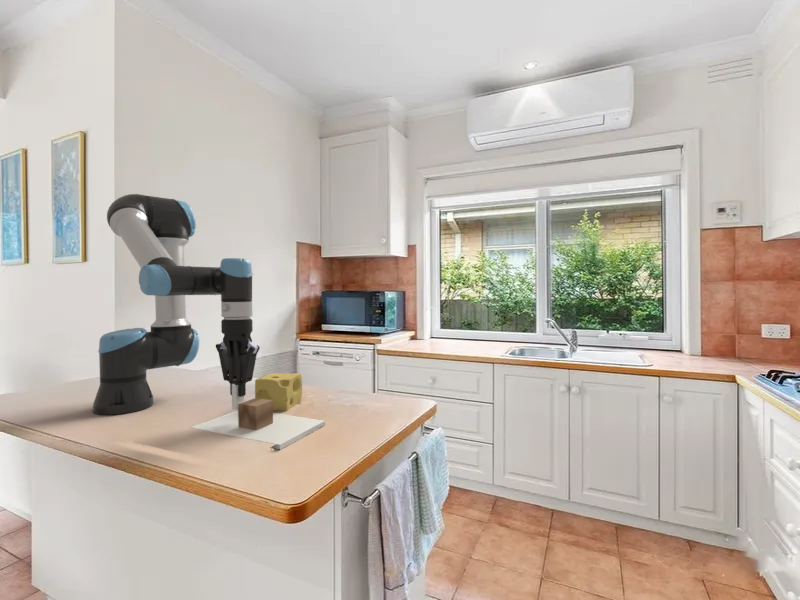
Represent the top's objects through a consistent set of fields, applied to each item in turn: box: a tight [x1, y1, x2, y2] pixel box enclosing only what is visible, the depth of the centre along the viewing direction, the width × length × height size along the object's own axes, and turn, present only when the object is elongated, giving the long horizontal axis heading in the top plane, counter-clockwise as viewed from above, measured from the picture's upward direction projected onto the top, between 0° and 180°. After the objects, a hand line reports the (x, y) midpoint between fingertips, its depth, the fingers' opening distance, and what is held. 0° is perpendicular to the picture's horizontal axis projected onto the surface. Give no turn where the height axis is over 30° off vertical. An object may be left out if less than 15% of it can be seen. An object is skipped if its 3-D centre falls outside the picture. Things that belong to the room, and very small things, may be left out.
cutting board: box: [190, 410, 326, 450], centre depth 107 cm, size 28×18×1 cm, turn 67°
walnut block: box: [238, 397, 274, 431], centre depth 106 cm, size 6×6×6 cm
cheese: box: [254, 372, 303, 412], centre depth 125 cm, size 10×11×10 cm
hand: (238, 408), depth 109 cm, fingers closed
